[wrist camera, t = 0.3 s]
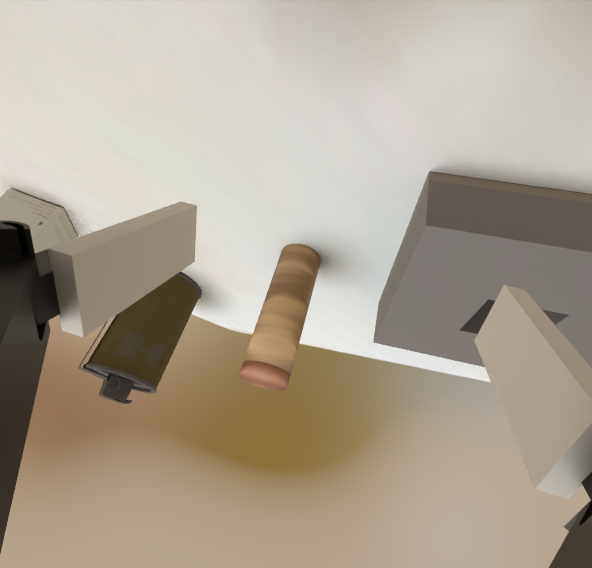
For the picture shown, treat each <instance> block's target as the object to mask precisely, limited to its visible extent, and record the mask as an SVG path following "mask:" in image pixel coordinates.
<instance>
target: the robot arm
mask: <svg viewBox="0 0 592 568" xmlns="http://www.w3.org/2000/svg"><path fill="white" fill-rule="evenodd" d="M196 214H197V206H196V205H193V204H189V203H185V202H179V203H176V204H173V205H170V206H167V207H164V208H162V209H159V210H156V211H153V212H150V213H147V214H144V215H142V216H139V217H136V218H133V219H130V220H127V221H124V222H122V223H119V224H116V225H113V226H110V227H107V228H104V229H102V230H99V231H96V232H93V233H90V234H87V235H85V236H82V237H79V238H76V239H73V240H70V241H67V242H65V243H62V244H59V245H56V246H53V247H50V248H48V249H46V250H44V251H41V252H38V253H35V251H34V246H33V241H32V236H31V231H30V226H29V225H27V224H25V223H22V222H17V221H6V220H1V221H0V552H1V548H2V544H3V539H4V535H5V530H6V526H7V521H8V517H9V512H10V508H11V504H12V499H13V494H14V490H15V486H16V481H17V477H18V472H19V467H20V463H21V459H22V454H23V450H24V445H25V441H26V437H27V432H28V428H29V423H30V419H31V414H32V410H33V405H34V401H35V396H36V392H37V387H38V383H39V378H40V374H41V370H42V365H43V361H44V355H45V351H46V347H47V343H48V338H49V334H50V327H49V323H48V320H50V319H51V318H53V317H55V316H57V315H60V321H61V327H62V331H65V332H69V333H71V334H74V335H77V336H81V337H83V338H84V337H85V336H86V335H88V334H90V333H91V332H92V331H94V330H95V329H97V328H98V327H100V326H101V325H102V324H104V323H106V322H107V321H109V320H110V319H111V318H113V317H114V316H116V315H117V314H119V313H120V312H122V311H123V310H125V309H126V308H128V307H129V306H130V305H132V304H133V303H135V302H136V301H138V300H139V299H141V298H142V297H144V296H145V295H147V294H148V293H149V292H151V291H152V290H154V289H155V288H157V287H158V286H160V285H161V284H163V283H164V282H165V281H167V280H168V279H170V278H171V277H173V276H174V275H176V274H177V273H179V272H180V271H182V270H183V269H184V268H186V267H187V266H189V265H190V264H192V263H193V262H195V238H196ZM474 341H475V344H476V346H477V349H478V351H479V353H480V356H481V358H482V361H483V363H484V366H485V368H486V371H487V373H488V375H489V378H490V380H491V383H492V385H493V388H494V390H495V392H496V395H497V397H498V400H499V402H500V404H501V407H502V410H503V412H504V414H505V417H506V419H507V422H508V424H509V426H510V429H511V431H512V434H513V436H514V439H515V441H516V444H517V446H518V448H519V451H520V453H521V456H522V458H523V461H524V463H525V466H526V468H527V470H528V472H529V475H530V478H531V480H532V483H533V485H534V487H535V489H537V490H540V491H544V492H546V493H549V494H552V495H555V496H558V497H561V498H564V499H569V497H570V496H571V495H572V494H573V493H574V492H575V491H576V490H577V489H578V488H579V487H580V486H581V485H583V486H584V488H585V490H586V492H587V494H588V496H589V497H590V499H591V501H590V502H589V503H588V504H587V505H586V506H585V507H584V508H582V510H581V511H580V512H578V513H577V514H576V515H575V516H574V517H573V518H572V519H571V520H570V521H569V522H568V523H567V524H566V525H565V526H564V527H565V528H566V529H567V530H568V531H569V533H568V534H567V536H566V538H565V540H564V542H563V543H562V545H561V547H560V549H559V550H558V552H557V554H556V556H555V558H554V560H553V561H552V563H551V565H550V566H549V568H592V367H591V366H590V365H589V364H588V363H587V362H586V361H585V360H584V358H583V357H582V356H581V355H580V354H579V353H578V351H577V350H576V349H575V348H574V347H573V346H572V344H571V343H570V342H569V341H568V340H567V339H566V337H565V336H564V335H563V334H562V333H561V332H560V330H559V329H558V328H557V327H556V326H555V324H554V323H553V322H552V321H551V320H550V319H549V317H548V316H547V315H546V314H545V313H544V312H543V310H542V309H541V308H540V307H539V306H538V305H537V303H536V302H535V301H534V300H533V299H532V298H531V296H530V295H529V294H528V293H527V292H526V291H525V290H524V289H520V288H516V287H512V286H508V285H504V286H503V288H502V290H501V292H500V293H499V295H498V297H497V299H496V301H495V303H494V305H493V307H492V308H491V310H490V312H489V314H488V316H487V318H486V320H485V322H484V323H483V325H482V327H481V329H480V331H479V333H478V335H477V337H476V338H475V340H474Z"/></svg>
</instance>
